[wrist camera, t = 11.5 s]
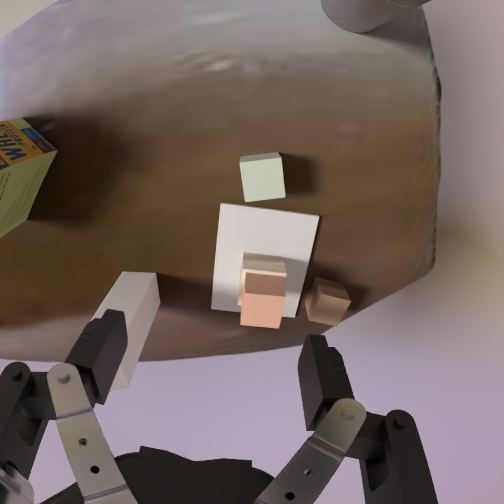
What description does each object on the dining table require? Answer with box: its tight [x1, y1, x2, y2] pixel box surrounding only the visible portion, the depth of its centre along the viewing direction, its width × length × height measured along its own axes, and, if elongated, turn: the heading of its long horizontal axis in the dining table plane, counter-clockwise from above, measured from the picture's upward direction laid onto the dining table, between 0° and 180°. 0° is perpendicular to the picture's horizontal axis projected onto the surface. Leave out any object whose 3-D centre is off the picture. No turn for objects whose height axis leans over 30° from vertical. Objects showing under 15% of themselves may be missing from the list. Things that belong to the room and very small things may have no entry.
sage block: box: [240, 152, 285, 202], centre depth 39 cm, size 5×5×5 cm
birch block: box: [238, 252, 287, 305], centre depth 45 cm, size 6×6×5 cm
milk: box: [91, 271, 160, 392], centre depth 40 cm, size 6×6×22 cm
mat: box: [211, 202, 319, 318], centre depth 48 cm, size 18×14×1 cm
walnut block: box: [305, 277, 351, 326], centre depth 48 cm, size 5×5×5 cm
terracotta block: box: [241, 272, 286, 328], centre depth 41 cm, size 5×5×5 cm
